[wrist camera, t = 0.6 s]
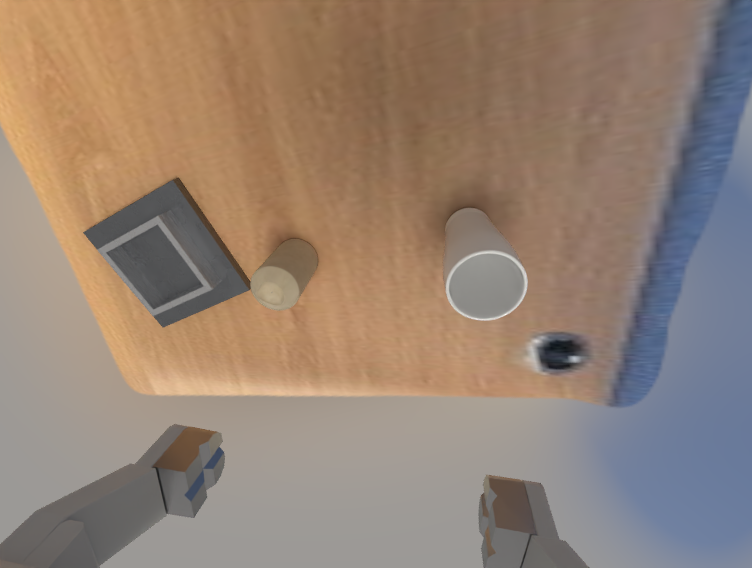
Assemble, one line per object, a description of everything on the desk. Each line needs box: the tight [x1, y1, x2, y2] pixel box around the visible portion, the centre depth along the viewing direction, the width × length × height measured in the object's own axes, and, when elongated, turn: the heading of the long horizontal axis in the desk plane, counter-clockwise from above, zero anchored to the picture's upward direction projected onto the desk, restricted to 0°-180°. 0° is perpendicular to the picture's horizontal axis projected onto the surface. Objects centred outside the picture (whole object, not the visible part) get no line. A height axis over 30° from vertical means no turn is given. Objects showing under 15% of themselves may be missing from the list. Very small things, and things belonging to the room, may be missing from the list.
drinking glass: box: [443, 208, 528, 321], centre depth 38 cm, size 7×7×15 cm
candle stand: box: [83, 178, 251, 327], centre depth 49 cm, size 16×16×4 cm
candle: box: [250, 239, 318, 310], centre depth 44 cm, size 6×6×10 cm
